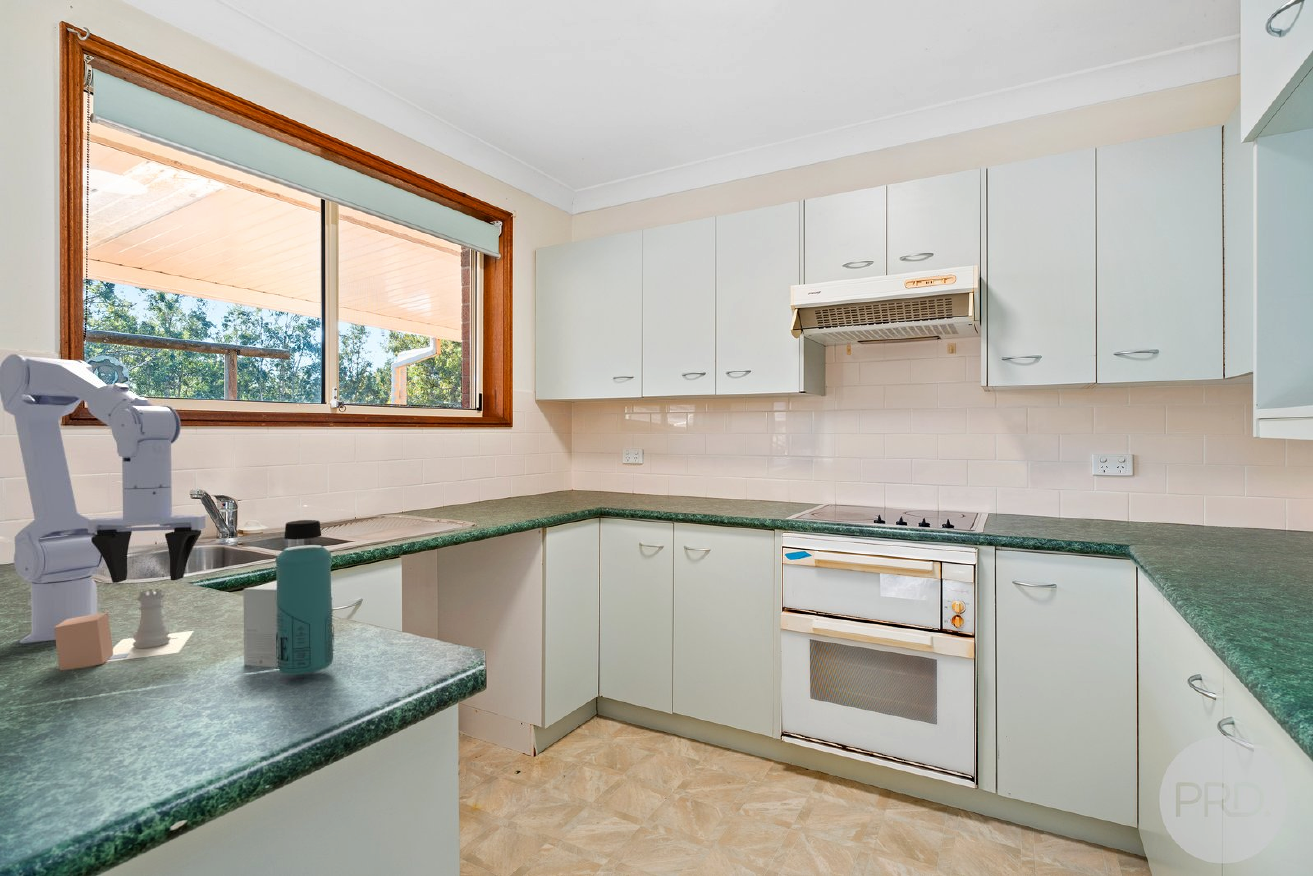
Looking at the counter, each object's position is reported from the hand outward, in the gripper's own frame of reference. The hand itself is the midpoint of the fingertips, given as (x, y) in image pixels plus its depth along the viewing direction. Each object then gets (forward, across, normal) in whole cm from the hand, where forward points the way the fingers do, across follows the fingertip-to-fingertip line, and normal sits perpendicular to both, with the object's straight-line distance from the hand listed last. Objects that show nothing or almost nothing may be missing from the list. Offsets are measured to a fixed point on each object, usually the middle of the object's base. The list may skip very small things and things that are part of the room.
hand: (148, 580), depth 97 cm
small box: (+10, -22, +9) cm, 26 cm away
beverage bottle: (+10, -27, +18) cm, 34 cm away
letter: (+10, 0, 0) cm, 10 cm away
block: (+10, +4, +6) cm, 12 cm away
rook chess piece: (+10, 0, 0) cm, 10 cm away
